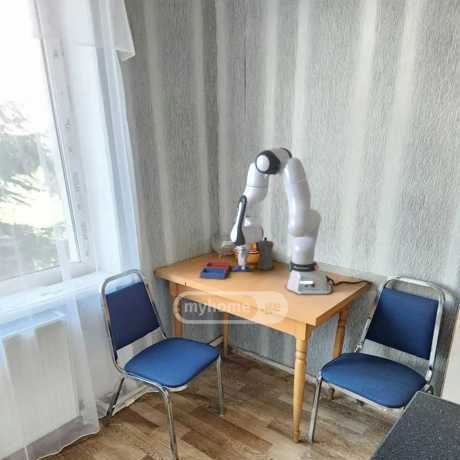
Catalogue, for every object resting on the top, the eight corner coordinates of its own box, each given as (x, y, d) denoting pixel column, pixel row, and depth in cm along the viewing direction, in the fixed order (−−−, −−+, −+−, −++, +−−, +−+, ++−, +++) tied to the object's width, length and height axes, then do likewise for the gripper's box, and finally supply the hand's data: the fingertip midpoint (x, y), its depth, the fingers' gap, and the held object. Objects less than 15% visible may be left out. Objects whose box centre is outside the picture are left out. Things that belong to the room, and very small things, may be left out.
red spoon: (228, 268, 230) (228, 263, 229) (226, 270, 227) (226, 265, 226) (210, 267, 232) (210, 262, 231) (209, 269, 229) (208, 264, 228)
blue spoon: (250, 270, 228) (250, 265, 227) (249, 272, 225) (249, 267, 224) (232, 269, 230) (232, 264, 229) (231, 271, 227) (231, 266, 225)
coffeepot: (278, 268, 230) (279, 238, 223) (265, 271, 225) (266, 241, 218) (261, 262, 242) (262, 233, 234) (249, 264, 237) (249, 235, 229)
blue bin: (226, 273, 223) (226, 268, 222) (223, 279, 215) (223, 274, 214) (204, 272, 225) (204, 267, 224) (200, 277, 217) (200, 272, 216)
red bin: (230, 267, 233) (230, 262, 232) (227, 272, 225) (227, 267, 224) (208, 266, 235) (208, 261, 234) (204, 271, 227) (204, 266, 226)
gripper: (247, 250, 211) (246, 274, 216) (251, 240, 229) (251, 262, 235) (235, 249, 212) (235, 273, 217) (241, 239, 230) (241, 262, 236)
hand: (243, 268), depth 226 cm, fingers closed
